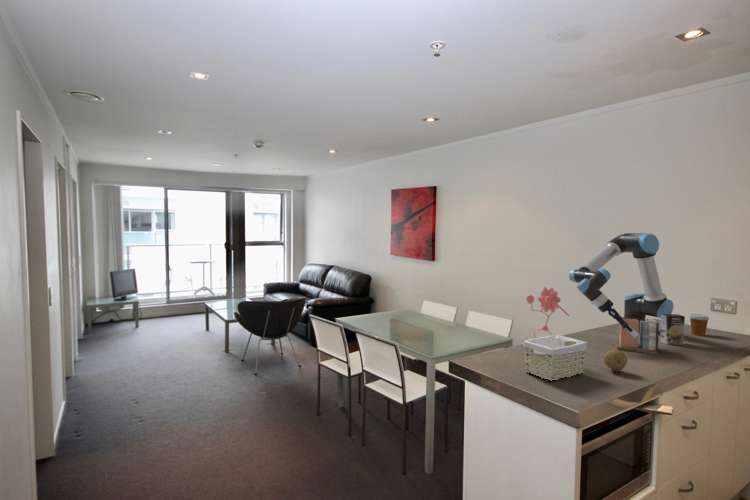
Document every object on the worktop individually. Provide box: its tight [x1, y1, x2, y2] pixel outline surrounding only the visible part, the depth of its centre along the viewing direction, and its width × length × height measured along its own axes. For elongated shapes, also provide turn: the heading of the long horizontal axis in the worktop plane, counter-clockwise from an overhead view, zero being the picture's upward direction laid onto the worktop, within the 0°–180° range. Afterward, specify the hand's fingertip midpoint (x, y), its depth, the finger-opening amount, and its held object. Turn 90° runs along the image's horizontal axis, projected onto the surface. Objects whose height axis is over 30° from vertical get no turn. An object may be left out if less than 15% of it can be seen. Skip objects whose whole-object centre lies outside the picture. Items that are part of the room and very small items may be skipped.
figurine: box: [526, 286, 570, 338], centre depth 203 cm, size 15×26×35 cm, turn 27°
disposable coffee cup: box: [689, 313, 710, 337], centre depth 247 cm, size 10×10×12 cm
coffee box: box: [659, 313, 686, 346], centre depth 229 cm, size 9×6×16 cm
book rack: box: [613, 316, 660, 355], centre depth 218 cm, size 12×18×16 cm, turn 67°
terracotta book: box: [618, 317, 640, 348], centre depth 219 cm, size 5×8×14 cm, turn 67°
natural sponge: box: [603, 349, 628, 373], centre depth 182 cm, size 9×9×10 cm
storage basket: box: [522, 334, 588, 379], centre depth 180 cm, size 24×16×15 cm
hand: (634, 333), depth 218 cm, fingers open, 12 cm apart
